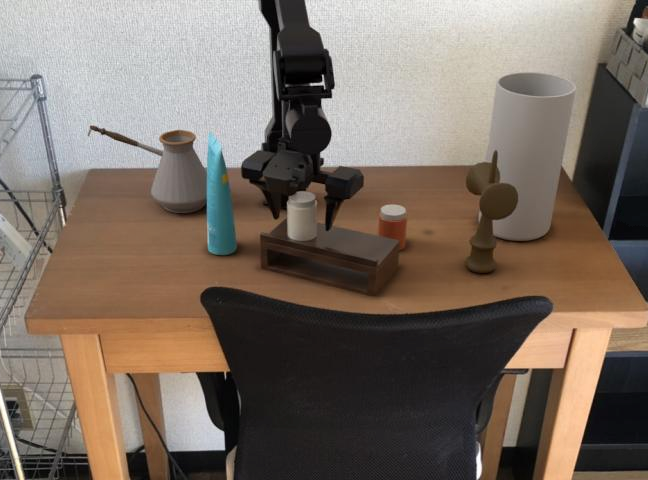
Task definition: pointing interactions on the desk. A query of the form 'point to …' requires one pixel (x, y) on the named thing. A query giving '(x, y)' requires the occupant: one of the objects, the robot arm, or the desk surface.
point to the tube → (219, 202)
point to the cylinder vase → (530, 147)
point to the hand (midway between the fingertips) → (302, 224)
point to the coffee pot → (174, 171)
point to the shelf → (332, 257)
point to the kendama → (488, 211)
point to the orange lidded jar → (393, 223)
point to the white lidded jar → (302, 216)
